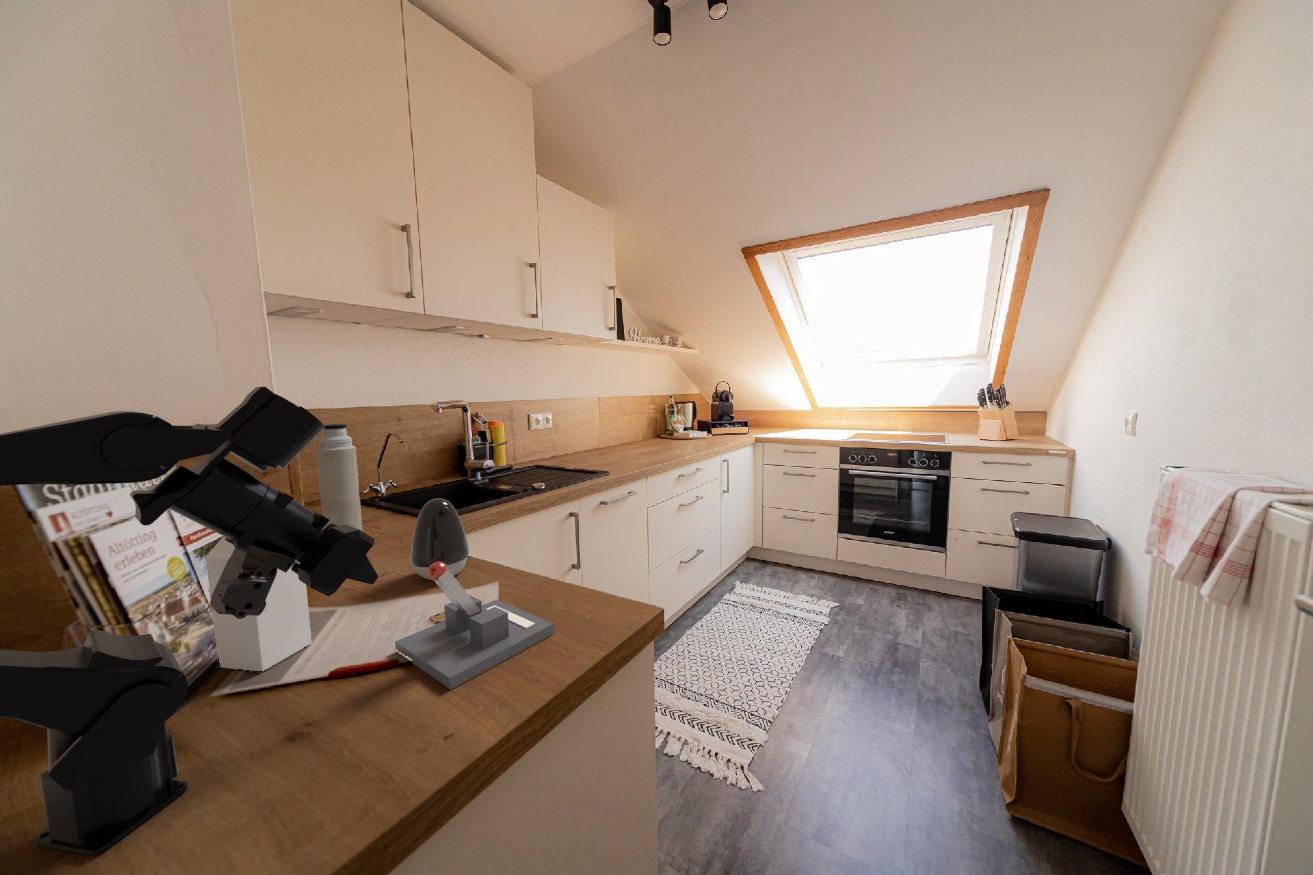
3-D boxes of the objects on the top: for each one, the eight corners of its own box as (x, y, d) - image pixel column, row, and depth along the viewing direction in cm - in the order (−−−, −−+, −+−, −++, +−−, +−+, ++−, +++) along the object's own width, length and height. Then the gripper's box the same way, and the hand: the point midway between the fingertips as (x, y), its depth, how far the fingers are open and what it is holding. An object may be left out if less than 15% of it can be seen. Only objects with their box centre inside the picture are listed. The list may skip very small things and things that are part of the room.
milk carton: (262, 673, 61) (246, 529, 59) (217, 668, 62) (201, 526, 60) (312, 644, 67) (300, 514, 65) (271, 639, 69) (258, 512, 67)
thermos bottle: (353, 530, 122) (344, 422, 119) (369, 535, 118) (360, 423, 115) (318, 539, 116) (307, 425, 113) (333, 544, 111) (323, 426, 109)
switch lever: (475, 628, 65) (430, 574, 60) (464, 623, 67) (419, 569, 62) (488, 614, 67) (446, 560, 61) (476, 609, 69) (434, 555, 63)
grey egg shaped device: (421, 591, 85) (415, 508, 83) (406, 574, 93) (400, 498, 91) (478, 575, 92) (474, 498, 90) (459, 561, 99) (455, 490, 98)
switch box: (450, 689, 57) (447, 650, 56) (395, 651, 65) (393, 617, 65) (553, 633, 69) (552, 600, 69) (497, 607, 78) (495, 578, 77)
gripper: (150, 562, 48) (293, 622, 58) (188, 612, 36) (358, 677, 46) (244, 473, 53) (360, 542, 63) (301, 493, 42) (431, 573, 52)
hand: (374, 580), depth 56 cm, fingers closed
